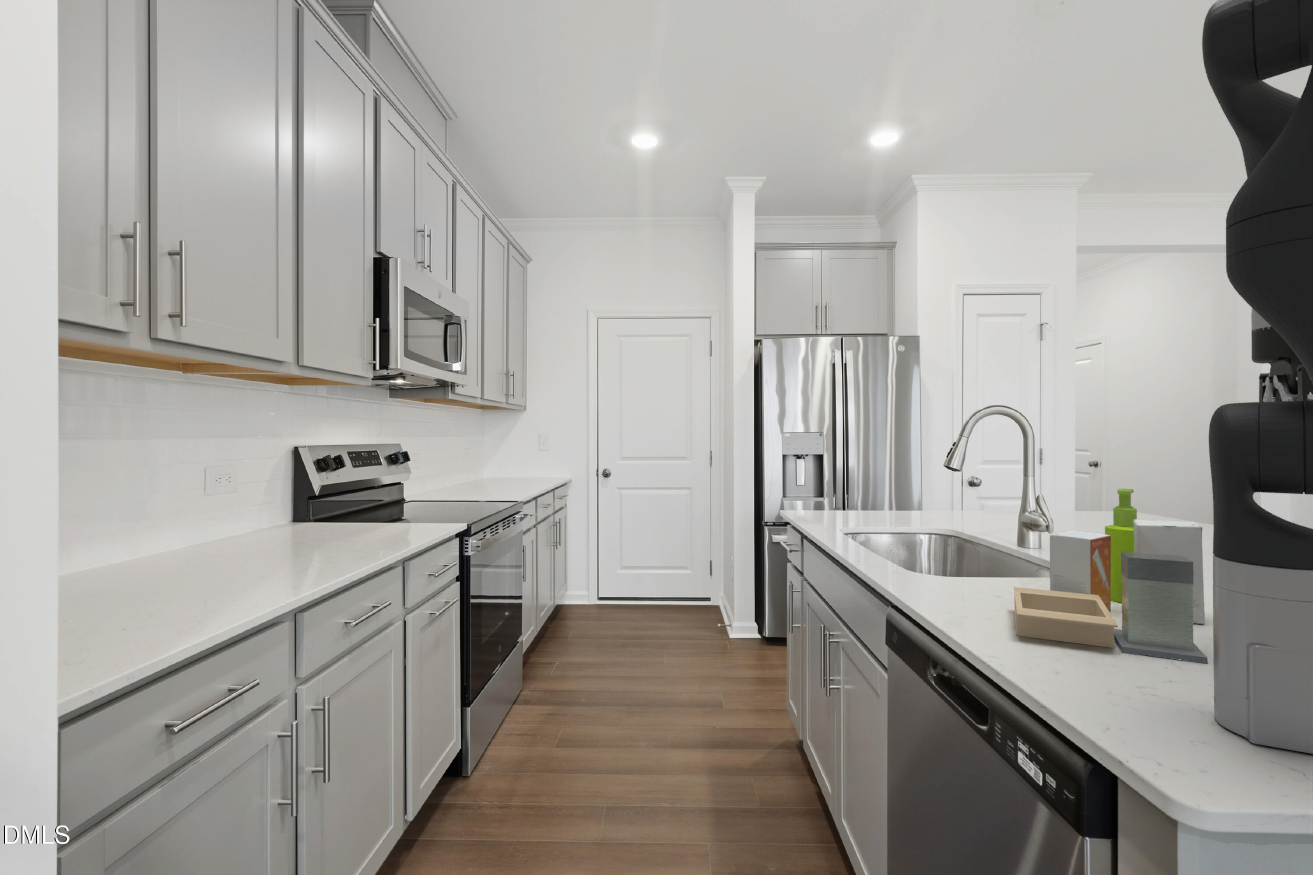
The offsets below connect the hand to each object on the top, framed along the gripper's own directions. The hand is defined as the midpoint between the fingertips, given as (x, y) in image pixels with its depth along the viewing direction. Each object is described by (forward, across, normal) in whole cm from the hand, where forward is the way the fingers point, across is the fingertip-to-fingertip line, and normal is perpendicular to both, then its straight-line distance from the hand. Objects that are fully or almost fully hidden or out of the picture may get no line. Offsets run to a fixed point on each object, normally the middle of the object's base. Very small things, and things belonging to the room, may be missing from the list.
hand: (1291, 447), depth 81 cm
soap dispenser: (+28, +26, +14) cm, 41 cm away
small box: (+28, +14, +22) cm, 38 cm away
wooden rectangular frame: (+28, 0, +26) cm, 38 cm away
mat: (+28, -3, +15) cm, 32 cm away
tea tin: (+27, -3, +15) cm, 31 cm away
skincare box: (+28, +16, +10) cm, 34 cm away
